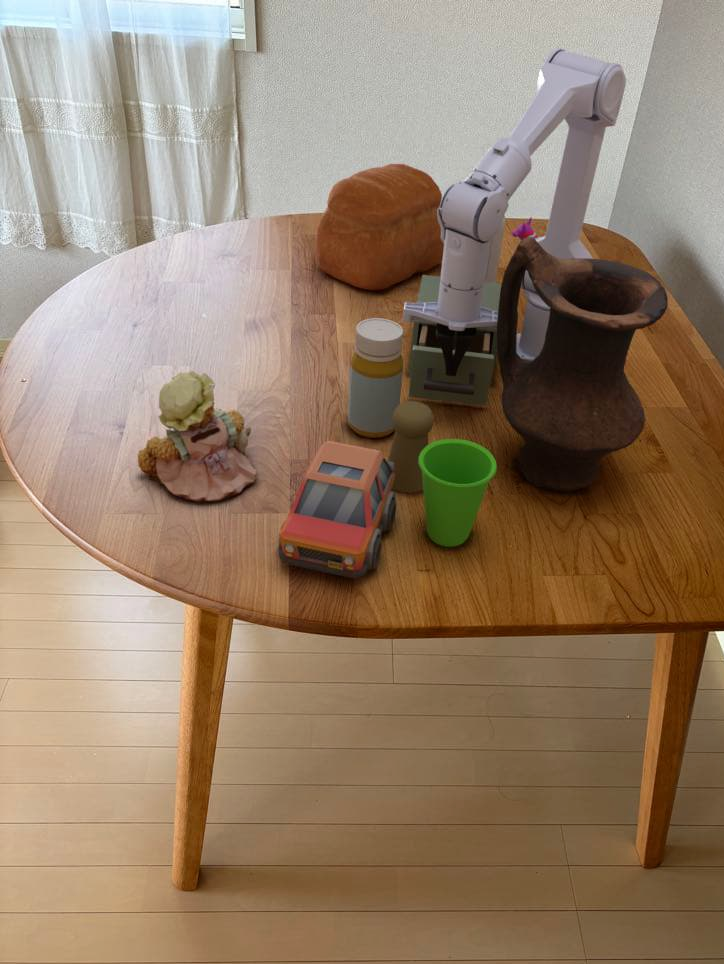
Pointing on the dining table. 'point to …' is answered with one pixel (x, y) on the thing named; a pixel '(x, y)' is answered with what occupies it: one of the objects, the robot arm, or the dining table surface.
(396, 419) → the pepper shaker
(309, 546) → the toy car
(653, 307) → the jug
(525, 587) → the dining table surface
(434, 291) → the cabinet
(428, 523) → the cup
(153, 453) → the figurine
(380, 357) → the bottle
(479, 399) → the drawer
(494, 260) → the energy drink can
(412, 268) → the bread
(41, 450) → the dining table surface
